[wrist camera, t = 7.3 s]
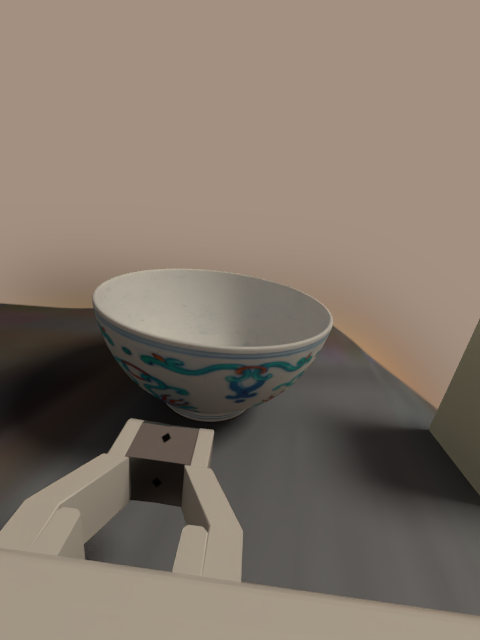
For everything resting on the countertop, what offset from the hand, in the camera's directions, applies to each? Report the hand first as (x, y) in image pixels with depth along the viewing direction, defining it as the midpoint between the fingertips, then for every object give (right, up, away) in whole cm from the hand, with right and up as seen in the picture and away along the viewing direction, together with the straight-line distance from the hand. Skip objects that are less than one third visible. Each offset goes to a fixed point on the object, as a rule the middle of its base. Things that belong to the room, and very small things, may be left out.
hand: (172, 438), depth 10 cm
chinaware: (0, -2, +12) cm, 12 cm away
